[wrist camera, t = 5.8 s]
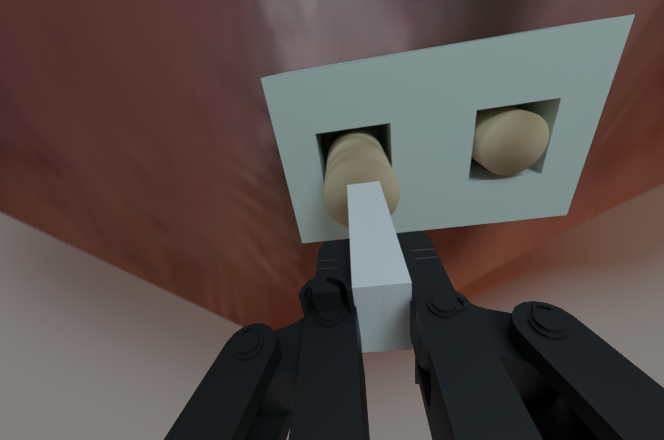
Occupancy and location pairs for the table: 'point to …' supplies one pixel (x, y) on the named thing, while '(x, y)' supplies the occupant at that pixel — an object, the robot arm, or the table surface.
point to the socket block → (450, 123)
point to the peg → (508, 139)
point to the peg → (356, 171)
